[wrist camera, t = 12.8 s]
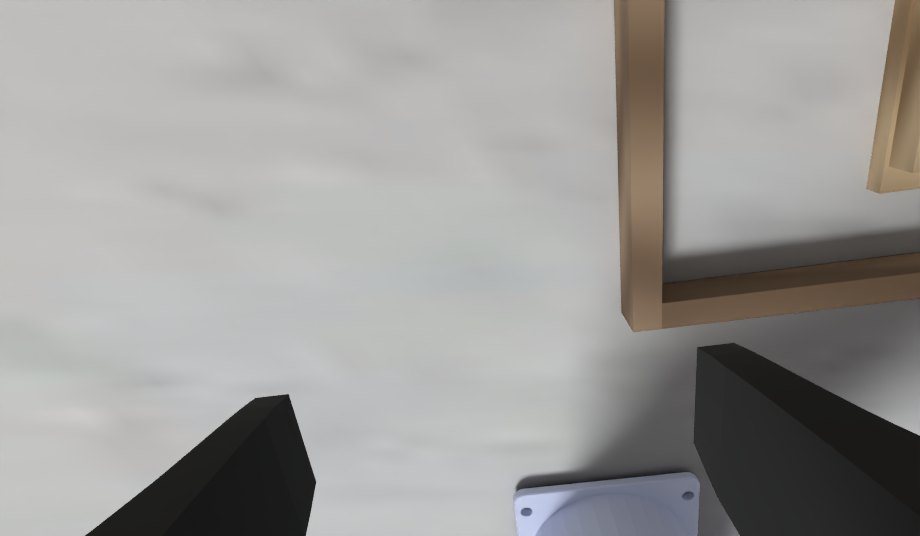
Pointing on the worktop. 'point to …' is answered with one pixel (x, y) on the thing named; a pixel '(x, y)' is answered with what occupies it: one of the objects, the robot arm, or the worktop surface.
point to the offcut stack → (899, 107)
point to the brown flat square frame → (643, 216)
